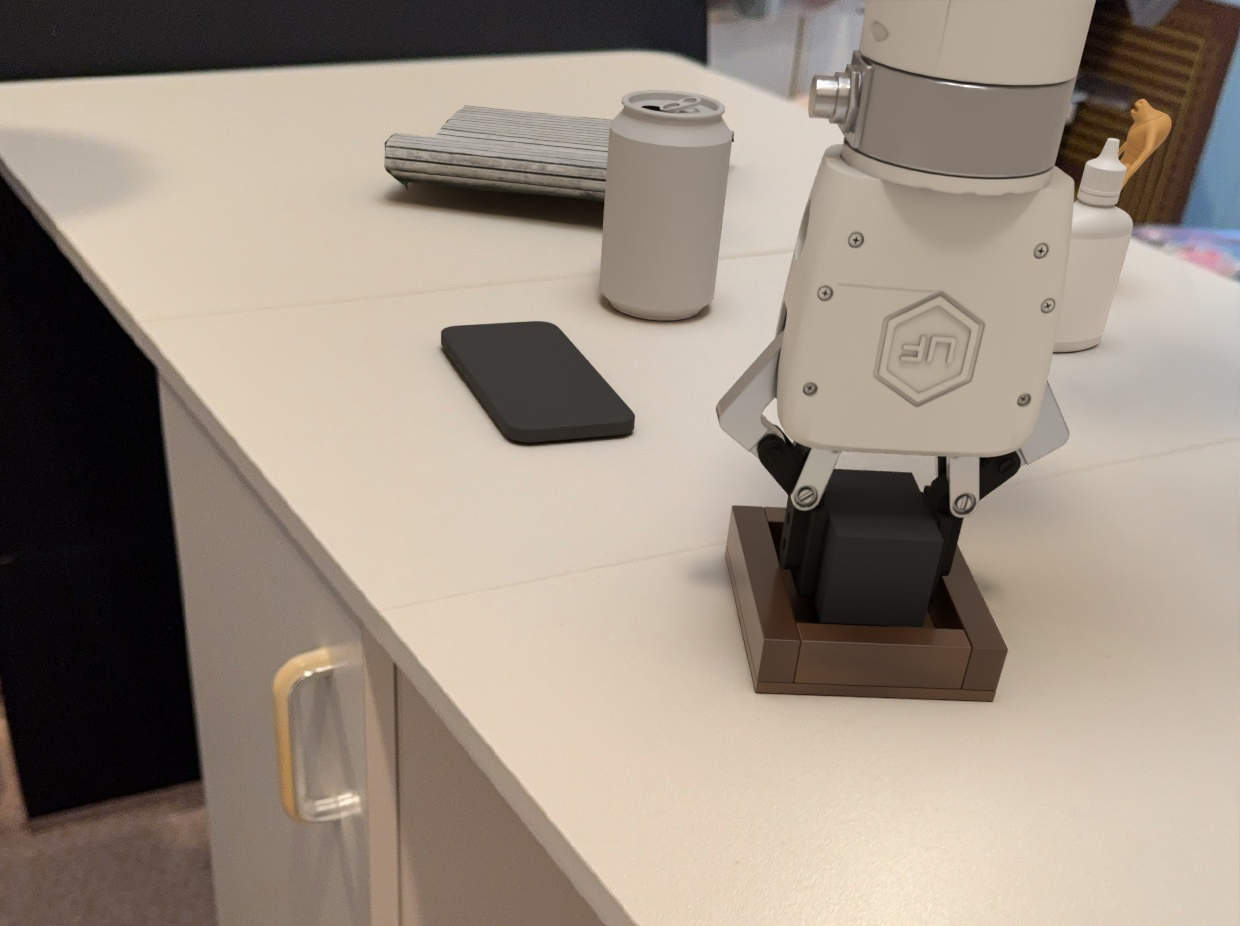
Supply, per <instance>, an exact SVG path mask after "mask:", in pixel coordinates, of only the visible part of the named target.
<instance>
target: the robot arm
mask: <svg viewBox="0 0 1240 926" xmlns="http://www.w3.org/2000/svg"><path fill="white" fill-rule="evenodd" d="M1096 1H1097V0H865V7H864V14H863V21H862V26H861V33H860V39H859V45H858V50H857V49H853V51H852V55H851V62H850V64H849V63H847V64H846V66H845V70H844V72H841V71H836V72H834V74H833V75H824V74H823V75H822V74H814V75H813V77H812V79H811V83H810V88H809V95H808V103H807V105H808V110H807V111H808V117H809V119H821V120H828V123H829V124H831V125H837V127H838V129H839V130H840V131H841V133H842V135H843V136H844V137H843V142H842V143H837V144H836V143H835V144H832V145H829V146H828V147H827V148H825V150H824V153H823V155H822V158H821V160H820V163H819V166H818V169H817V171H816V174H815V177H814V180H813V182H812V186H811V189H810V192H809V195H808V198H807V202H806V205H805V208H804V211H803V215H802V218H801V221H800V226H799V228H798V229H799V230H798V233H797V238H796V240H795V246H794V249H793V254H792V258H791V262H790V265H789V270H788V273H787V278H786V282H785V287H784V291H783V295H782V300H781V304H780V309H779V315H778V318H777V323H776V328H775V333H774V338H773V340H772V341H771V342H770V343H769V344H768V345H767V347H765V349H764V350H763V351H762V352H761V353H760V354H759V355H758V356H757V358H756V359H755V360H754V361H753V362H752V363H751V364H750V365H749V366H748V368H747V369H746V370H745V371H744V372H743V374H742V375H740V376H739V378H738V379H737V380H736V382H734V383H733V384H732V386H731V387H730V388H729V389H728V390H727V392H726V393H725V394H724V395H723V396H722V397H721V398H720V399H719V401H718V402H717V404H716V405H715V413H716V417H717V422H718V426H719V428H720V429H721V430H722V431H723V432H724V433H725V434H727V436H729V437H730V438H731V439H733V441H735V442H736V443H737V444H738V445H740V446H741V447H742V448H743V449H744V450H746V451H747V452H748V453H751V454H752V455H753V456H755V457H756V459H758V460H759V462H760V464H761V465H762V466H763V468H765V470H766V471H767V472H768V474H769V475H770V476H771V477H772V478H773V480H774V481H775V482H776V483H777V484H778V485H779V487H780V488H781V489H782V490H783V491H784V493H786V495H787V501H786V506H785V508H786V513H785V519H784V525H783V531H782V537H781V543H780V554H779V558H780V565H781V568H782V569H786V570H790V571H791V574H792V578H793V581H794V585H795V588H796V592H797V595H798V598H811V597H812V595H815V594H816V590H817V584H818V579H819V573H820V568H821V562H822V557H823V551H824V546H825V540H826V535H827V530H828V524H829V516H830V513H829V510H828V508H827V505H826V502H825V496H826V492H825V489H826V486H827V484H828V482H829V479H830V477H831V475H832V472H833V470H834V469H836V468H835V467H836V465H837V463H838V461H839V458H840V456H841V455H842V452H846V453H847V452H848V453H864V454H882V455H883V454H885V455H904V456H905V455H906V456H923V457H924V456H925V457H926V456H928V457H934V459H935V461H934V462H935V465H934V466H935V478H934V479H933V480H931V482H930V485H924V487H923V491H921V493H922V495H923V498H924V500H925V502H926V504H927V506H928V508H929V510H930V513H931V515H932V517H933V519H934V521H935V523H936V525H937V528H938V530H939V532H940V534H941V536H942V538H943V546H942V550H941V554H940V558H939V562H938V566H937V570H936V575H935V579H934V583H933V587H932V591H931V595H930V599H929V603H932V602H933V600H934V596H935V592H936V588H937V584H938V579H939V576H948V575H949V573H950V571H951V567H952V563H953V559H954V555H955V551H956V547H957V544H958V542H959V539H960V534H961V530H962V528H963V522H964V518H968V517H971V516H972V515H974V513H976V511H977V510H978V508H979V506H980V501H981V500H983V499H985V498H986V497H987V496H989V495H990V494H991V493H993V492H994V491H995V490H997V489H998V488H999V487H1000V486H1003V484H1004V483H1007V482H1008V481H1009V480H1010V479H1011V478H1013V477H1014V476H1016V474H1017V473H1018V472H1019V471H1020V469H1021V468H1022V467H1024V466H1025V465H1027V466H1029V465H1031V464H1032V463H1034V462H1036V461H1038V460H1040V459H1041V458H1043V457H1045V456H1047V455H1049V454H1051V453H1053V452H1054V451H1056V450H1058V449H1060V448H1062V447H1063V446H1064V445H1066V443H1068V441H1069V438H1070V435H1071V434H1070V429H1069V427H1068V424H1067V422H1066V420H1065V418H1064V415H1063V412H1062V411H1061V408H1060V406H1059V404H1058V401H1057V399H1056V396H1055V394H1054V392H1053V390H1052V387H1051V385H1050V382H1049V374H1050V369H1051V365H1052V358H1053V354H1054V352H1053V350H1054V344H1055V338H1056V333H1057V327H1058V322H1059V316H1060V309H1061V303H1062V297H1063V291H1064V285H1065V277H1066V270H1067V263H1068V256H1069V248H1070V240H1071V230H1072V219H1073V205H1074V202H1075V180H1074V179H1073V177H1072V176H1070V175H1069V174H1067V173H1066V172H1064V171H1063V170H1062V169H1060V168H1059V166H1056V162H1057V157H1058V153H1059V149H1060V145H1061V141H1062V137H1063V133H1064V131H1065V130H1064V129H1065V126H1066V123H1067V117H1068V114H1069V110H1070V106H1071V103H1072V102H1071V101H1072V98H1073V93H1074V90H1075V85H1076V82H1077V78H1078V77H1077V76H1078V72H1079V68H1080V65H1081V60H1082V58H1083V57H1082V56H1083V52H1084V48H1085V45H1086V40H1087V36H1088V32H1089V29H1090V25H1091V21H1092V17H1093V13H1094V9H1095V4H1096ZM775 399H776V410H777V411H776V412H777V418H778V421H779V423H780V425H781V427H780V426H778V425H777V424H774V423H772V422H771V421H770V420H769V419H767V417H766V416H765V415H764V414H763V413H764V411H765V409H766V408H767V407H768V406H769V405H770V404H771V403H772V402H773V401H774V400H775ZM781 428H782V429H781ZM790 439H791V440H792V441H791V440H790Z"/></svg>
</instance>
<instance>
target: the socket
mask: <svg viewBox="0 0 1240 926" xmlns="http://www.w3.org/2000/svg"><path fill="white" fill-rule="evenodd" d="M785 513H786V507H781V506H780V507H778V506H760V505H757V506H756V505H738V504H737V505H736V504H733V505H731V508H730V516H729V522H728V523H729V524H728V529H727V539H726V546H725V552H724V553H725V554H724V555H725V558H726V563H727V569H728V573H729V578H730V581H731V582H730V583H731V586H732V591H733V596H734V600H735V605H736V609H737V613H738V617H739V623H740V627H741V631H742V637H743V640H744V646H745V649H746V654H747V659H748V663H749V668H750V674H751V677H752V682H753V687H754V691H755V693H767V694H791V695H796V694H797V695H818V696H819V695H820V696H844V697H845V696H846V697H848V696H849V697H872V698H874V697H875V698H900V699H901V698H902V699H928V700H929V699H930V700H952V701H953V700H956V701H983V702H993V701H994V700H995V697H996V695H997V689H998V686H999V683H1000V680H1001V675H1002V672H1003V669H1004V665H1005V663H1006V658H1007V654H1008V652H1009V648H1008V646H1007V644H1006V642H1005V640H1004V638H1003V636H1002V633H1001V632H1000V629H999V627H998V625H997V623H996V620H995V619H994V617H993V615H992V612H991V611H990V609H989V607H988V604H987V602H986V600H985V598H984V596H983V594H982V592H981V590H980V588H979V586H978V583H977V581H976V580H975V578H974V576H973V573H972V571H971V569H970V567H969V565H968V563H967V561H966V559H965V557H964V554H963V553H962V550H961V549H960V546H959V544H958V543H957V547H956V551H955V555H954V559H953V563H952V567H951V571H950V573H949V575H948V576H939V579H938V584H937V588H936V592H935V596H934V600H933V602H932V603H929V604H928V608H927V612H926V616H925V620H924V624H923V627H909V626H883V625H857V624H831V623H820V620H819V617H818V613H817V610H816V607H815V603H814V600H813V597H811V598H798V595H797V592H796V588H795V585H794V581H793V578H792V574H791V571H790V570H786V569H782V568H781V565H780V558H779V554H780V543H781V537H782V531H783V525H784V519H785Z"/></svg>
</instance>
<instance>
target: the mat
mask: <svg viewBox="0 0 1240 926" xmlns="http://www.w3.org/2000/svg"><path fill="white" fill-rule="evenodd" d="M612 120H613V119H608V118H597V117H595V118H594V117H587V116H586V117H585V116H575V115H572V116H571V115H563V114H555V113H546V112H534V111H526V110H525V111H523V110H515V109H514V110H513V109H503V108H496V107H495V108H494V107H484V106H476V105H475V106H474V105H466V104H465V105H464V106H463V107H462V108H460V109H458V110H457V111H456V112H455V113H453V115H451V117H450V118H448V119H447V120H446V121H445V122H444V123H443V124H442V125H441V127H440V128H439V130H438V132H437V133H436V135H435V136H428V135H419V134H411V133H398V132H395V133H393V134H391V135H390V136H389V137H388V138H387V139H386V140H385V142H384V162H383V166H384V169H385V171H386V172H387V173H388V174H389V175H390V176H392V178H394V179H395V180H396V181H397V182H399V183H400V184H402V185H403V186H404V188H405V190H406V191H408V189H409V186H410V183H413V184H421V185H431V186H437V187H438V186H439V187H447V188H448V187H449V188H454V189H463V190H473V191H483V192H484V191H485V192H496V193H497V192H498V193H508V194H509V193H510V194H523V195H524V194H525V195H537V196H548V197H560V198H571V199H572V198H573V199H580V200H588V201H593V202H594V201H595V202H601V203H605V188H606V173H607V158H608V142H609V127H610V123H611V121H612ZM730 131H731V132H732V143H735V139H734V136H735V130H734V131H733V130H730Z"/></svg>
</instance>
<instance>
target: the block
mask: <svg viewBox="0 0 1240 926" xmlns="http://www.w3.org/2000/svg"><path fill="white" fill-rule="evenodd" d="M825 492H826V496H825V502H826V505H827V508H828V510H829V513H830V516H829V524H828V530H827V535H826V540H825V546H824V551H823V557H822V562H821V568H820V573H819V579H818V584H817V590H816V594H815V595H812V597H813V600H814V603H815V607H816V610H817V613H818V617H819V620H820V623H831V624H857V625H883V626H909V627H923V624H924V620H925V616H926V612H927V608H928V604H929V599H930V595H931V591H932V587H933V583H934V579H935V575H936V570H937V566H938V562H939V558H940V554H941V550H942V546H943V538H942V536H941V534H940V532H939V530H938V528H937V525H936V523H935V521H934V519H933V517H932V515H931V513H930V510H929V508H928V506H927V504H926V502H925V500H924V498H923V495H922V493H921V492H922V491H921V489H920V487H919V485H918V483H917V481H916V479H915V477H914V473H913V472H911V471H893V470H892V471H890V470H870V469H868V470H867V469H851V468H849V469H848V468H847V469H846V468H834V470H833V472H832V475H831V477H830V479H829V482H828V484H827V486H826V489H825Z"/></svg>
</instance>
